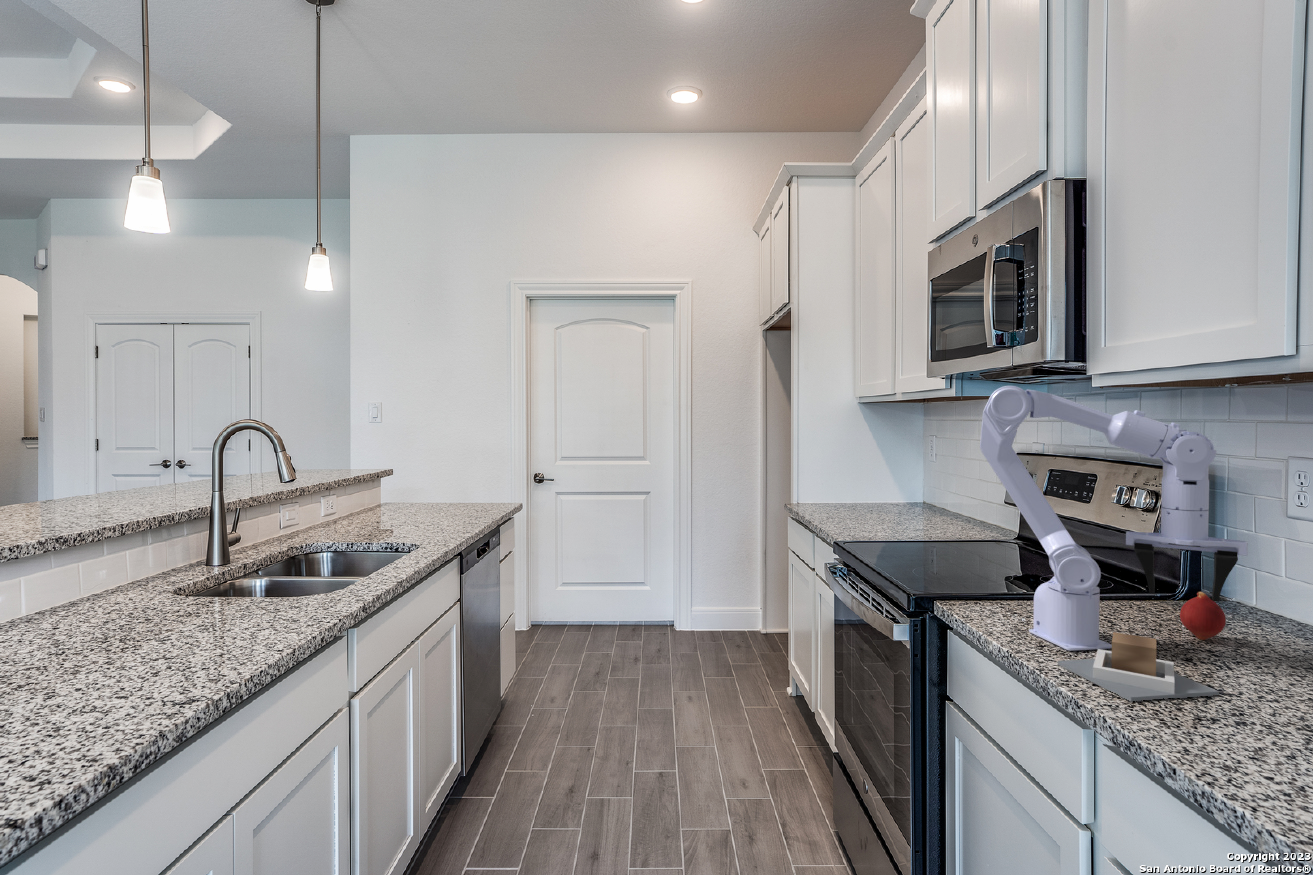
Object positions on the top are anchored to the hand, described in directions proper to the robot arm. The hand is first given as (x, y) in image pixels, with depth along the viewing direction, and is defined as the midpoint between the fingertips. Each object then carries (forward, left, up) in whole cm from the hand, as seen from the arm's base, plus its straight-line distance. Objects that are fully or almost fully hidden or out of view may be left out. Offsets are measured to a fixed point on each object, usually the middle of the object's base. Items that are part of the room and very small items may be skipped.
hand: (1183, 595), depth 101 cm
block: (+7, -15, -9) cm, 19 cm away
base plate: (+7, -15, -9) cm, 19 cm away
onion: (-6, +10, -10) cm, 15 cm away
